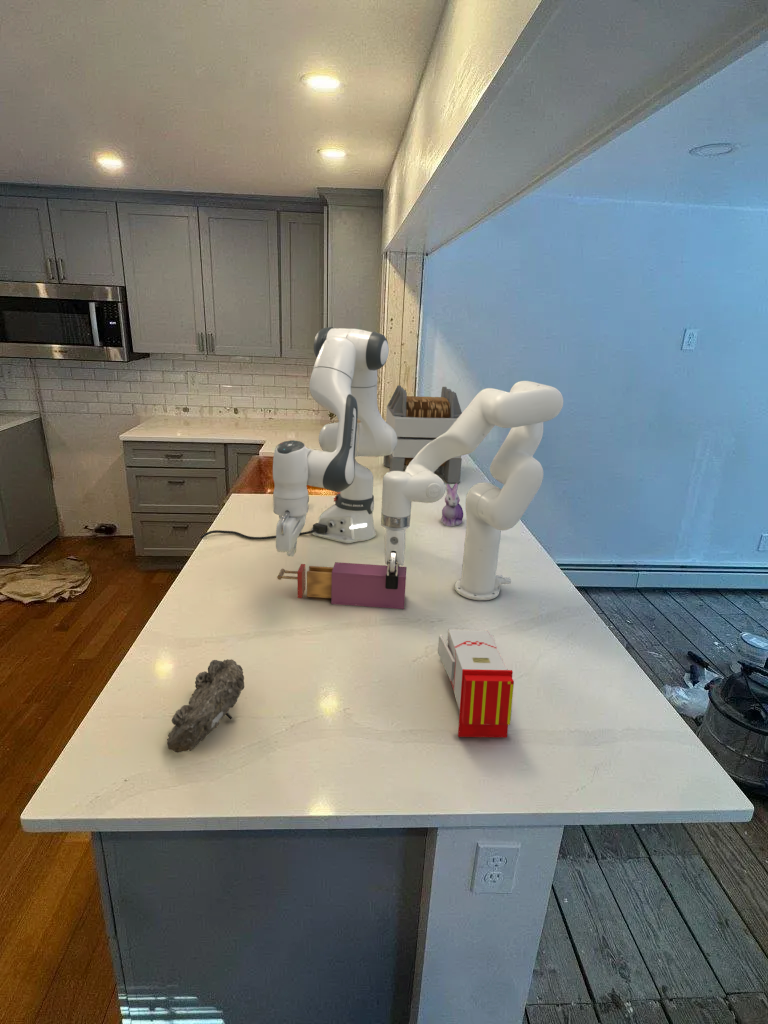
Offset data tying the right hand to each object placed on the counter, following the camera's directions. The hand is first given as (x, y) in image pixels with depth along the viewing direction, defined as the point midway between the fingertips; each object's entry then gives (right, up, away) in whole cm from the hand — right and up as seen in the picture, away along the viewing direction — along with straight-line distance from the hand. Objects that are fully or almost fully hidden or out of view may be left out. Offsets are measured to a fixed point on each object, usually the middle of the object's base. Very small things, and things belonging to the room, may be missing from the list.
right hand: (392, 581), depth 151 cm
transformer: (+15, +37, +124) cm, 130 cm away
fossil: (-35, -21, -43) cm, 59 cm away
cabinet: (-6, -6, +2) cm, 9 cm away
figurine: (+23, +14, +61) cm, 67 cm away
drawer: (-19, -4, +3) cm, 19 cm away
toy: (+16, -19, -33) cm, 41 cm away
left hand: (-27, +7, -1) cm, 28 cm away
